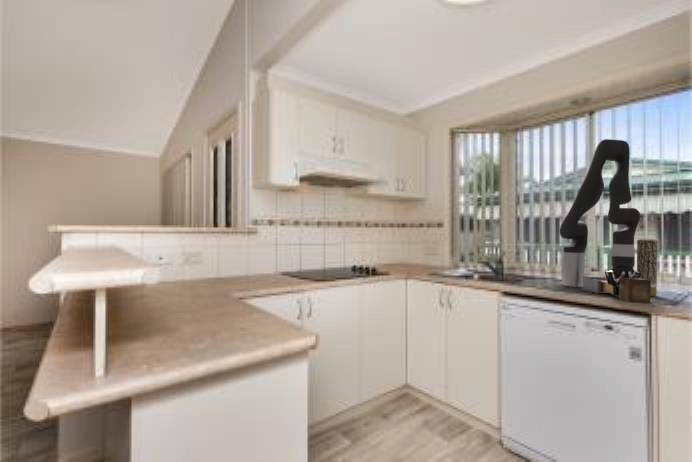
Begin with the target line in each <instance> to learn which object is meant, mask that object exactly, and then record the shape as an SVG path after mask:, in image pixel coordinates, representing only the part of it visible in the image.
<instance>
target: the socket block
mask: <svg viewBox="0 0 692 462" xmlns="http://www.w3.org/2000/svg"><path fill="white" fill-rule="evenodd" d="M651 298H652V296H651V280H648V279H642V278H619V296H618V300H620V301H622V302H627V303H646V302H650V303H651Z"/></svg>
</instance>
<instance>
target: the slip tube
mask: <svg viewBox="0 0 692 462" xmlns="http://www.w3.org/2000/svg"><path fill="white" fill-rule="evenodd" d="M601 291H602V292H607V293H611V294H610V295H614V294H613V286H612V285H609V284H608V282H607V281H601Z"/></svg>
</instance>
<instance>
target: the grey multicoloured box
mask: <svg viewBox="0 0 692 462" xmlns="http://www.w3.org/2000/svg"><path fill="white" fill-rule="evenodd" d="M601 281H607V279H606V276H603V275H586V274H585V275H583V286H582V287H581V291H584V292H585V291H586V292H588V291H589V292H588V293H592V292H594V293H593V294H596V293H607V292H602V291H601Z"/></svg>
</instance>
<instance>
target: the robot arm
mask: <svg viewBox="0 0 692 462" xmlns="http://www.w3.org/2000/svg"><path fill="white" fill-rule="evenodd" d="M630 150H631V149H630V146H629V142H627V141H626V140H621V139H609V138H605V139H602V140H601V141H599V143H598V144H597V146H596V148H595V150H594V152H593V156H592V159H591V161H590V165H589V167H588V169H587V172H586V174H585V177H584V179H583V181H582V182H581V185H580V188H579V189H578V191H577V194H576V197H575V199H574V201H573V204H572V205H571V207H570V209H569V211H568V213H567V215H566V216H565V217H564V219H563V221H562V223H561V225H560V228H559V235H560V238H562V239H565V240H571V242H570V243H569V244H566V246H565V245H564V247H563V253H562V255H563V257H562V258H563V259H562V266H561V267H562V269H561V271H562V272H561V284H562V285H563V286H565V287H571V288H572V287H573V288H582V286H583V275H586V274H585V273H586V271H585V270H586V249H587V246H588V239H589V238H588V236H589V230H588V229H589V228H588V225H587V224H586V223H585V222H584V221H580V220H581V219H582V217H583V216H584V215H585V214H586V213H588V212H589V211H590V210H591V209H592V208H594V207H595V206H596V205H597V204H598V203H599V201H600V199H601V196H602V195H603V193H604V192H605V191H604V190H605V184H604V183H605V182H604V178H603V168H604V166H605V163H606V162H609V161H610V162H614V163H615V172H614V173H613V176H612V178H611V179H610V181H609V183H608V192H609V199H610V203H609V210H608V212H607V220H608V221H609V223H610V224H611V225H616V226H617V225H618V226H619V225H621V226H622V225H624V228H623V229H619V230H615V231H613V233H612V246H611V247H612V248H611V266H612V268H611V270H609V271H607V270H606V271H605V272H604V275H605V277H606V279H607V282H608V284H609V285H612V286H613V294H612V295H614V296H616V297H619V278H640V276H641V273H640V272H637V270H636V271H635V269H634V267H635V265H636V262H635V259H636V257H635V256H636V254H635V253H636V252H635V251H636V250H635V235H636V230H637V228H638V225H639V223H640V220H641V212H640V210H638V209H637V208H635V207H621V206H623V205H626V204H629V203H630V202H632V193H631V188H630V181H629V180H630V178H629V175H630V173H629V172H630V154H631V153H630Z"/></svg>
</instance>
